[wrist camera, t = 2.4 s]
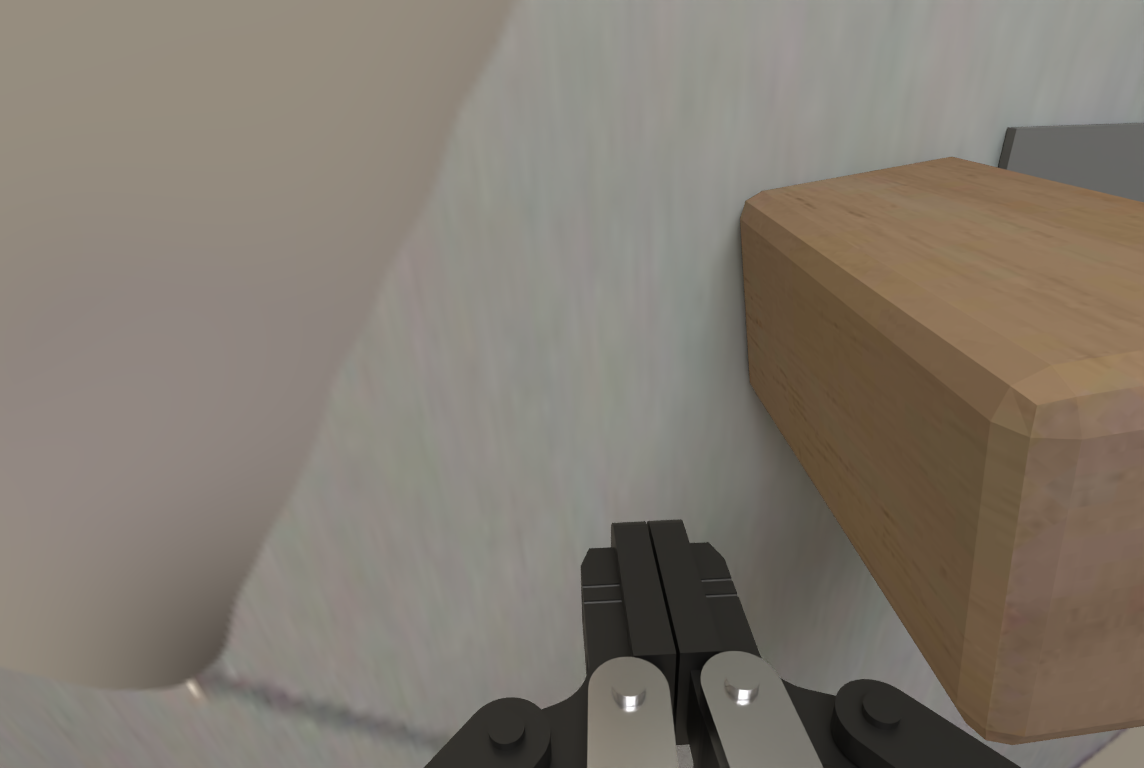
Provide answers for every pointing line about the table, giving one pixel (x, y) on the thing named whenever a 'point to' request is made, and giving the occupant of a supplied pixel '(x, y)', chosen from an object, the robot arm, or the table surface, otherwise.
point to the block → (971, 420)
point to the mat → (1080, 156)
